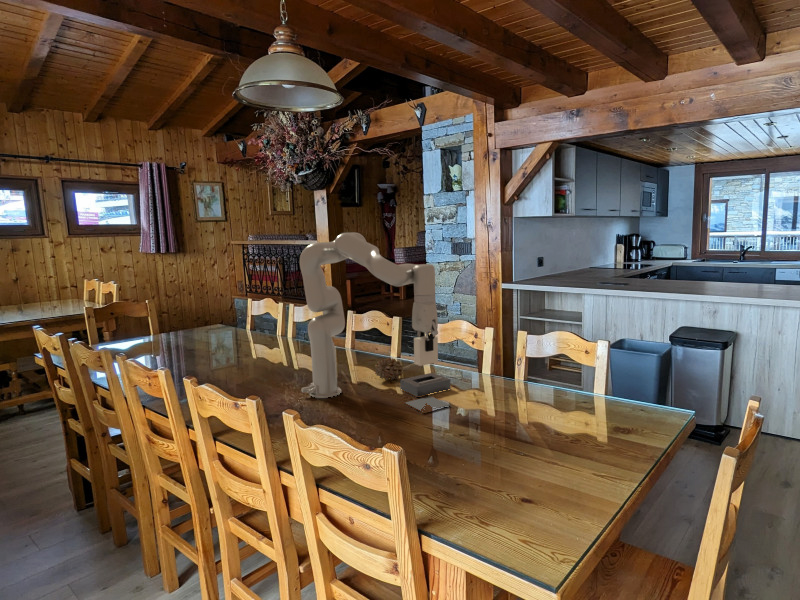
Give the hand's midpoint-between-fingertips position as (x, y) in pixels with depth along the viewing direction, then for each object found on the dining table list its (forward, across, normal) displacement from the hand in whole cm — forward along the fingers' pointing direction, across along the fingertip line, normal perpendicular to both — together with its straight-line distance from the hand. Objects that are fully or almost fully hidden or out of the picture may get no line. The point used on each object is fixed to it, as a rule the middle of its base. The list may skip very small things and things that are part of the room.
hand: (425, 349), depth 180 cm
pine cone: (+21, -36, +10) cm, 43 cm away
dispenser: (+21, -15, +10) cm, 28 cm away
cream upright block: (+5, 0, 0) cm, 5 cm away
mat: (+21, 0, 0) cm, 21 cm away
